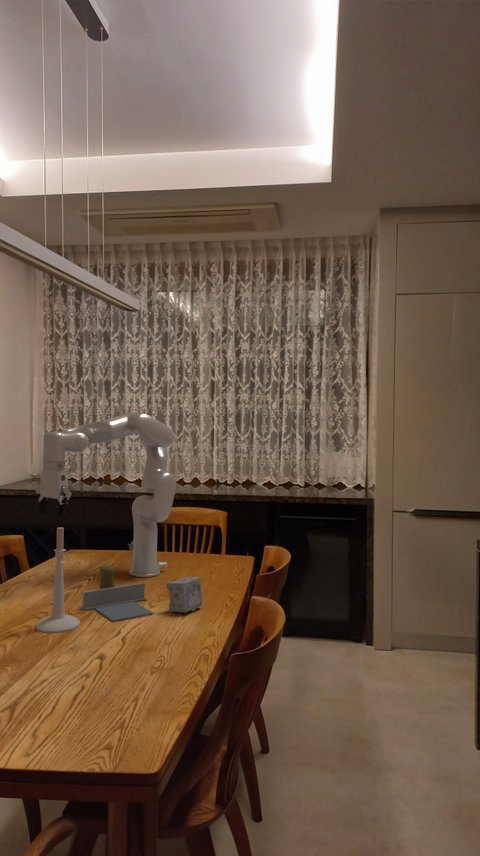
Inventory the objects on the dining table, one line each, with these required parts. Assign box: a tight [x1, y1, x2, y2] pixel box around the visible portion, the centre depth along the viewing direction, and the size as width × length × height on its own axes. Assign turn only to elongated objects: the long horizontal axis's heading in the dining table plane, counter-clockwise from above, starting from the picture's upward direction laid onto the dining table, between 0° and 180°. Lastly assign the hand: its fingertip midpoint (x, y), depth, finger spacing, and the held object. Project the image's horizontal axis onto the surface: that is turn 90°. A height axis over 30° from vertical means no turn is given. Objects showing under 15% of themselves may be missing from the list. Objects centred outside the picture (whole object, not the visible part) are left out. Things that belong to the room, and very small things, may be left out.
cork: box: [98, 564, 116, 590], centre depth 210 cm, size 6×6×11 cm
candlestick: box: [35, 526, 81, 634], centre depth 180 cm, size 13×13×30 cm
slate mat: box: [94, 601, 154, 623], centre depth 194 cm, size 14×14×1 cm
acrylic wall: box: [80, 582, 147, 612], centre depth 202 cm, size 22×4×6 cm, turn 126°
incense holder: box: [166, 576, 203, 613], centre depth 198 cm, size 10×8×10 cm
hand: (52, 513), depth 214 cm, fingers open, 9 cm apart
